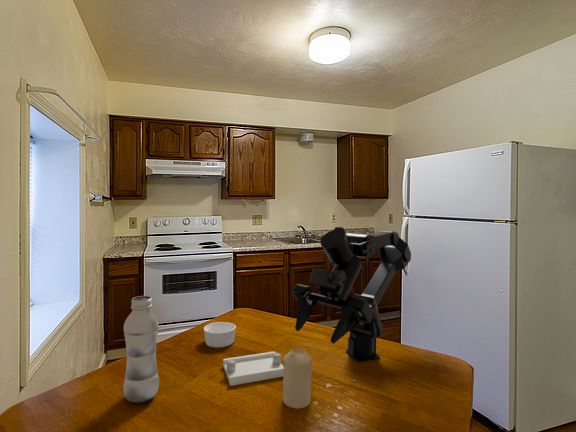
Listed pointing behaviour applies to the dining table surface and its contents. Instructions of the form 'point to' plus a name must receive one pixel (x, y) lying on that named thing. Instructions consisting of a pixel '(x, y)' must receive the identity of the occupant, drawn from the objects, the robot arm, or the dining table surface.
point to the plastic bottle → (141, 351)
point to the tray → (253, 368)
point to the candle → (297, 379)
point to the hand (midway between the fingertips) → (313, 336)
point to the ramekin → (219, 334)
